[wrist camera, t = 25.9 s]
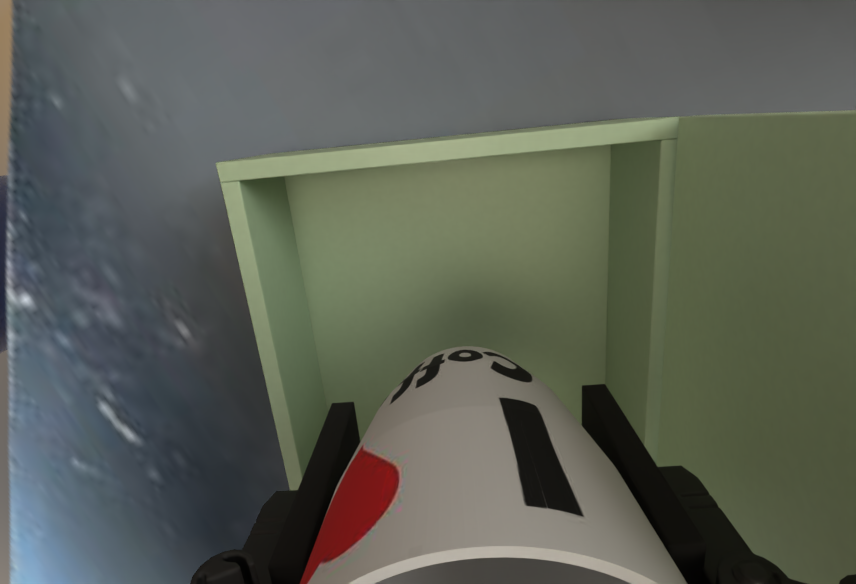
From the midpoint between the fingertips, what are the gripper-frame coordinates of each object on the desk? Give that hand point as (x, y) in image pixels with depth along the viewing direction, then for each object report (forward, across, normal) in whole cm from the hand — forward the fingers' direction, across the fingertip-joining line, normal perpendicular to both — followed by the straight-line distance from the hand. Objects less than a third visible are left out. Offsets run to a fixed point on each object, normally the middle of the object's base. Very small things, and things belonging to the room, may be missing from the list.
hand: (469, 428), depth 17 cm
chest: (+13, 0, 0) cm, 13 cm away
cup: (+1, 0, 0) cm, 1 cm away
